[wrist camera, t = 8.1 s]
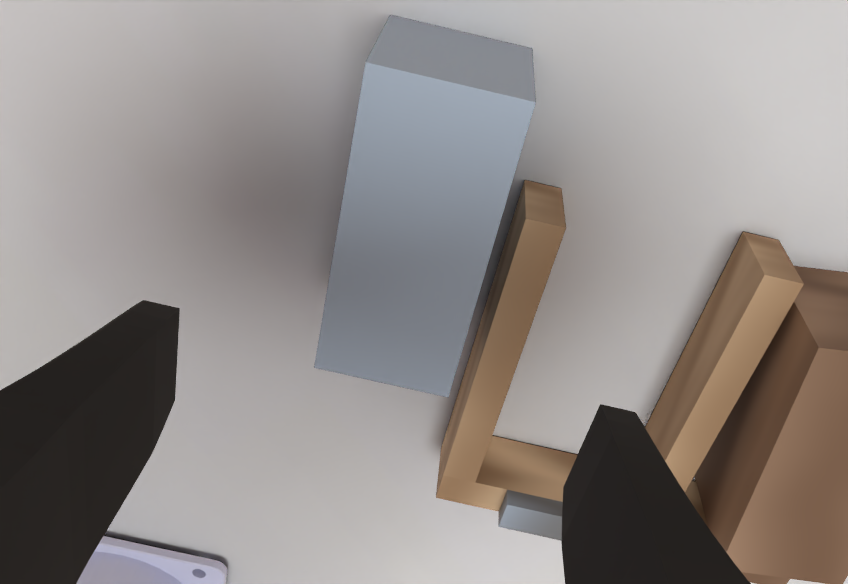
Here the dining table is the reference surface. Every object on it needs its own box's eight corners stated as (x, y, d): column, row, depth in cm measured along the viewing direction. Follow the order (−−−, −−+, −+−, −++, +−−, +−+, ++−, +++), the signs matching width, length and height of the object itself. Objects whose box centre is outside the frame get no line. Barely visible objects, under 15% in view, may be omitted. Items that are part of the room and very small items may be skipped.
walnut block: (692, 468, 26) (719, 568, 23) (772, 260, 22) (818, 347, 19) (799, 482, 26) (841, 585, 23) (900, 275, 22) (971, 366, 18)
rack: (441, 447, 27) (434, 512, 24) (524, 180, 21) (526, 230, 19) (815, 531, 27) (844, 602, 25) (991, 290, 22) (1050, 353, 19)
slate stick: (342, 284, 24) (314, 367, 20) (391, 12, 19) (365, 61, 16) (457, 310, 24) (448, 397, 20) (532, 46, 19) (535, 102, 16)
